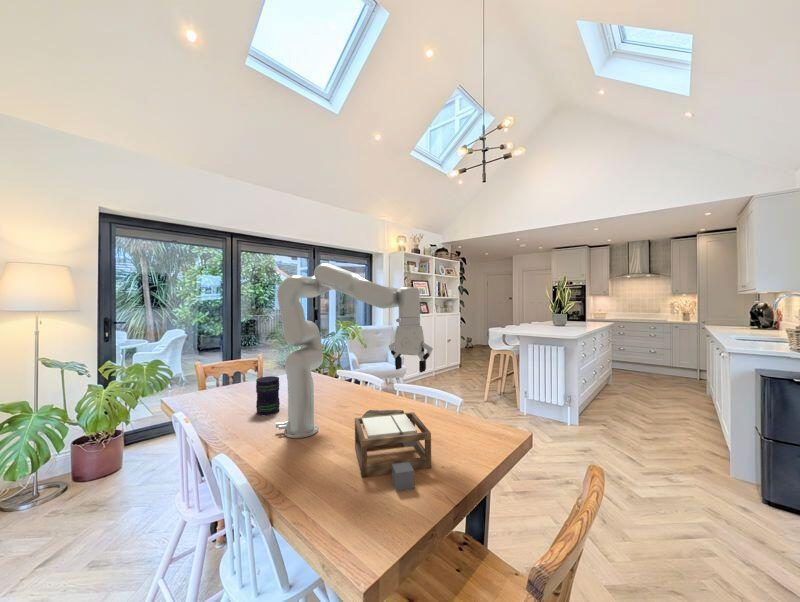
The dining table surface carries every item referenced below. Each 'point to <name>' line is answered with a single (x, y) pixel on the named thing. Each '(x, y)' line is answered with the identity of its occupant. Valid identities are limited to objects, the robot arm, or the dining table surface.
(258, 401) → the storage jar
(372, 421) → the hatch leaf
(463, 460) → the dining table surface
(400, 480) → the basalt block
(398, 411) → the marble piece
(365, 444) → the walnut hatch frame
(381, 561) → the dining table surface
